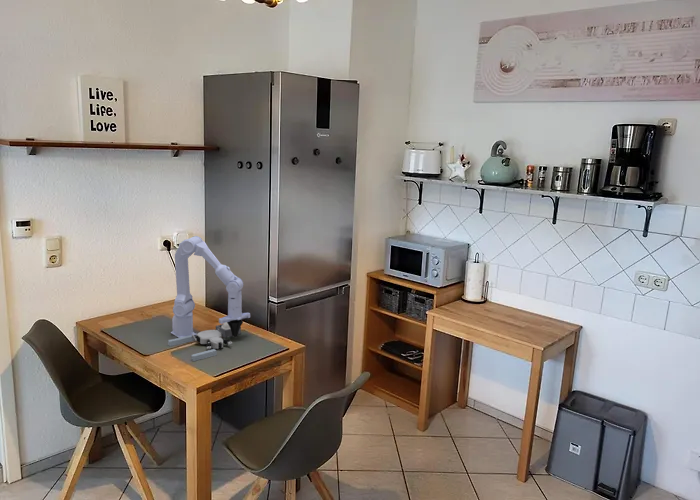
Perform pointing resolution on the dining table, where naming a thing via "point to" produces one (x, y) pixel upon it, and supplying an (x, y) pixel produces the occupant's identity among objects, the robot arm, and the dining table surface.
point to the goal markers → (194, 356)
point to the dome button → (225, 326)
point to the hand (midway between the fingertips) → (234, 336)
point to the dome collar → (226, 331)
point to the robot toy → (211, 339)
